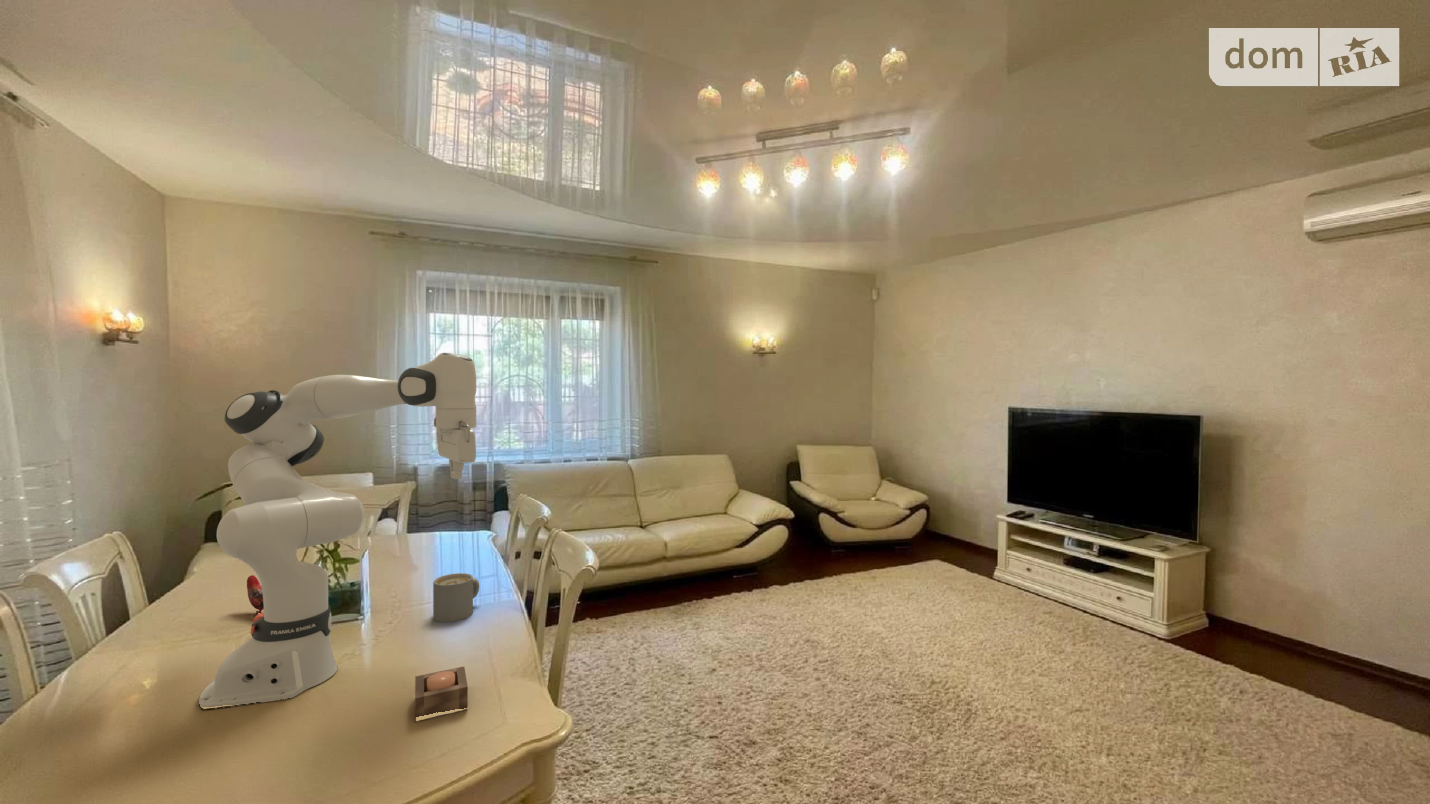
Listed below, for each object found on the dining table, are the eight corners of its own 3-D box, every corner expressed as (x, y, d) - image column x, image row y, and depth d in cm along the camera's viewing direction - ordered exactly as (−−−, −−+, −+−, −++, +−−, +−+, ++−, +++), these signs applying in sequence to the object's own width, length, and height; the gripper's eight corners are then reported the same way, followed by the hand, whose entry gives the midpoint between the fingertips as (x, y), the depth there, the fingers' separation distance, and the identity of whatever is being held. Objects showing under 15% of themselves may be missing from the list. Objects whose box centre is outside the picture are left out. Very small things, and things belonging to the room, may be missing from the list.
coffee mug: (445, 625, 146) (445, 587, 146) (426, 616, 152) (426, 580, 152) (491, 609, 157) (491, 574, 157) (471, 601, 163) (471, 567, 163)
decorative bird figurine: (254, 607, 157) (254, 572, 157) (282, 621, 148) (282, 583, 148) (241, 610, 154) (241, 575, 154) (269, 624, 145) (269, 587, 145)
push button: (427, 707, 106) (427, 686, 106) (426, 694, 110) (426, 674, 110) (455, 700, 108) (455, 680, 108) (454, 688, 113) (454, 668, 112)
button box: (415, 722, 103) (415, 698, 103) (415, 698, 111) (415, 676, 111) (467, 709, 107) (467, 686, 107) (464, 687, 115) (464, 666, 115)
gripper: (483, 422, 126) (483, 482, 126) (459, 418, 142) (458, 472, 142) (453, 423, 122) (453, 485, 122) (432, 419, 138) (432, 474, 138)
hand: (456, 478), depth 132 cm, fingers closed
